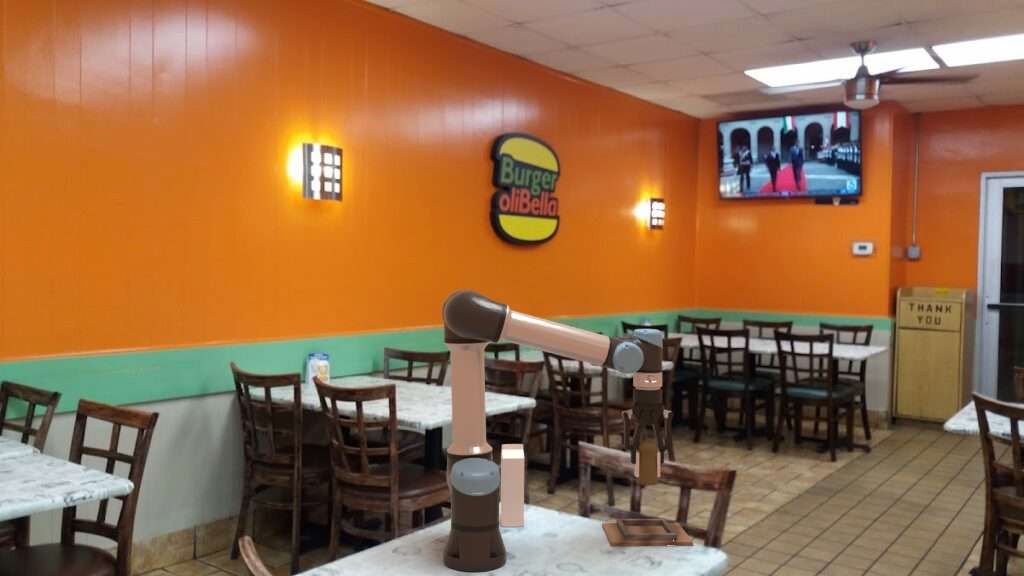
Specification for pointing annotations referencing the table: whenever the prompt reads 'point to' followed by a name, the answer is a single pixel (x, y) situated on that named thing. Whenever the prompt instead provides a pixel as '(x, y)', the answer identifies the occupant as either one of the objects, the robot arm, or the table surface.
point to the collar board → (645, 533)
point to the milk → (512, 485)
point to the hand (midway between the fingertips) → (647, 475)
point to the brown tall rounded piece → (647, 463)
